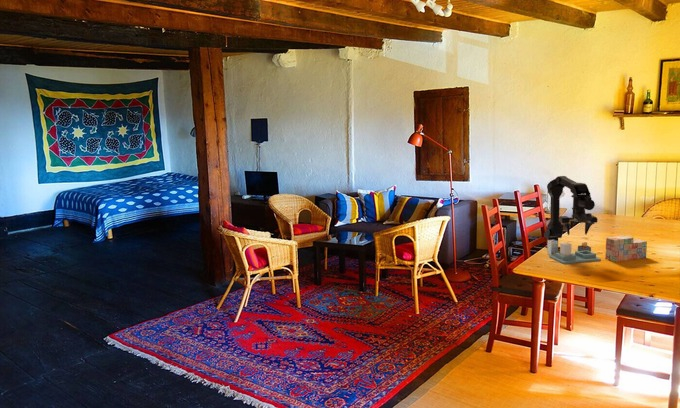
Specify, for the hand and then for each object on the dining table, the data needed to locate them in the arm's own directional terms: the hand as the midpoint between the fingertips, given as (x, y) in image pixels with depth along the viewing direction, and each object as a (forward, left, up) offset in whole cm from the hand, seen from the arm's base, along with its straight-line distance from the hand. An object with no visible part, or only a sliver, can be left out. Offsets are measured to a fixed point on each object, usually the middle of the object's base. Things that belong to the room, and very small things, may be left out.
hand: (577, 234), depth 293 cm
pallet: (0, -1, -14) cm, 14 cm away
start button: (-12, +13, -11) cm, 21 cm away
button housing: (-12, +13, -14) cm, 23 cm away
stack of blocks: (+7, +25, -14) cm, 30 cm away
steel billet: (-12, -7, -14) cm, 20 cm away
